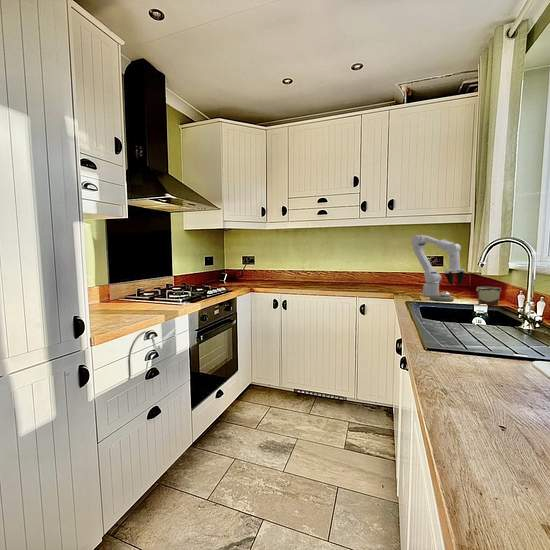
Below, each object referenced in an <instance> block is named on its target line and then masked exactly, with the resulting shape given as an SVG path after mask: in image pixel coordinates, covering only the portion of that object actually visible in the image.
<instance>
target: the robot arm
mask: <svg viewBox="0 0 550 550" xmlns="http://www.w3.org/2000/svg"><path fill="white" fill-rule="evenodd" d="M410 242H411V244H412V251H413V253H414V254H415V256H416V258H417V260H418V262H419V264H420V265H421V267H422V269H423V272H424V273H423V276H424V280H425V283H424V284H423V285H422V296H423V295H425V297H429V296H433V295H440V282H441V281H442V274H440V273H439V272H438V270H437V269H435V268H434V267H433V266H432V264H431V262H430V261H429V259H428V257H427V256H426V254H425V252H424V247H425V246H426V245H427V243H430V244H433V245H437V247H438V248H439V249H441V250H444V251H446V252H448V260H449V269H445V270H444V276H445V278H446V279H447V282H448V285H453V284H454V277H455V275H456V279H457V280H456V281H457V284H458V285H459V284H460V285H462V283H463V280H464V277H465V275H466V269H464V268H462V269H461V260H460V259H461V256H460V254H461V253H460V252H461V251H462V246H461V245H460V243H454V241H448V239H445V238H443V239H440V240H439V239H437V238H434V237H432V236H429V235H425V234H423V235H422V234H420V235H419V234H415V235H413V236H412V237H411V240H410Z"/></svg>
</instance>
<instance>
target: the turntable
mask: <svg viewBox="0 0 550 550" xmlns="http://www.w3.org/2000/svg"><path fill="white" fill-rule="evenodd" d="M429 300H432V301H437V302H449V301H450V302H452V301H455V300H454V296H451V295H450V297H441V294H439V295H433V296H430V297H429Z"/></svg>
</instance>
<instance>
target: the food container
mask: <svg viewBox="0 0 550 550" xmlns="http://www.w3.org/2000/svg"><path fill="white" fill-rule="evenodd" d="M475 291H476V292H477V301H478V303H477V304H478V305H479V304H487V305H498V306H499V301H500V294H501V292H502V289H501V287H497V286H477V287H476V289H475Z"/></svg>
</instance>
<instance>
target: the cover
mask: <svg viewBox="0 0 550 550" xmlns="http://www.w3.org/2000/svg"><path fill="white" fill-rule="evenodd" d="M440 295H441V297H450V296H451V292H449V291H445V290H443V291H442V292H440Z"/></svg>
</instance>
